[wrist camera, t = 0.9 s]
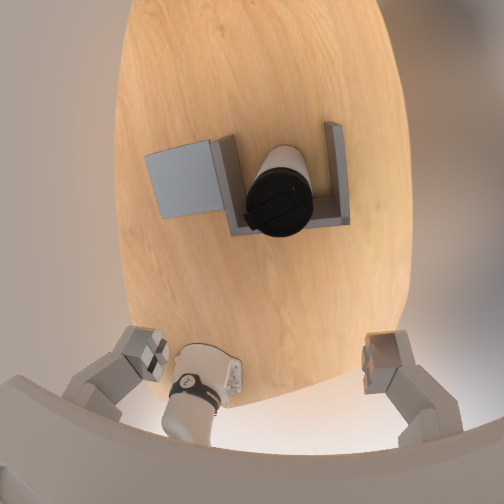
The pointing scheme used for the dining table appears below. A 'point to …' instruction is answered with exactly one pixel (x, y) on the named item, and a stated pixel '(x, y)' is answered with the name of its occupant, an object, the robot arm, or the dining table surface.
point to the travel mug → (280, 194)
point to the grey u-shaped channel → (325, 208)
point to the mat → (185, 180)
